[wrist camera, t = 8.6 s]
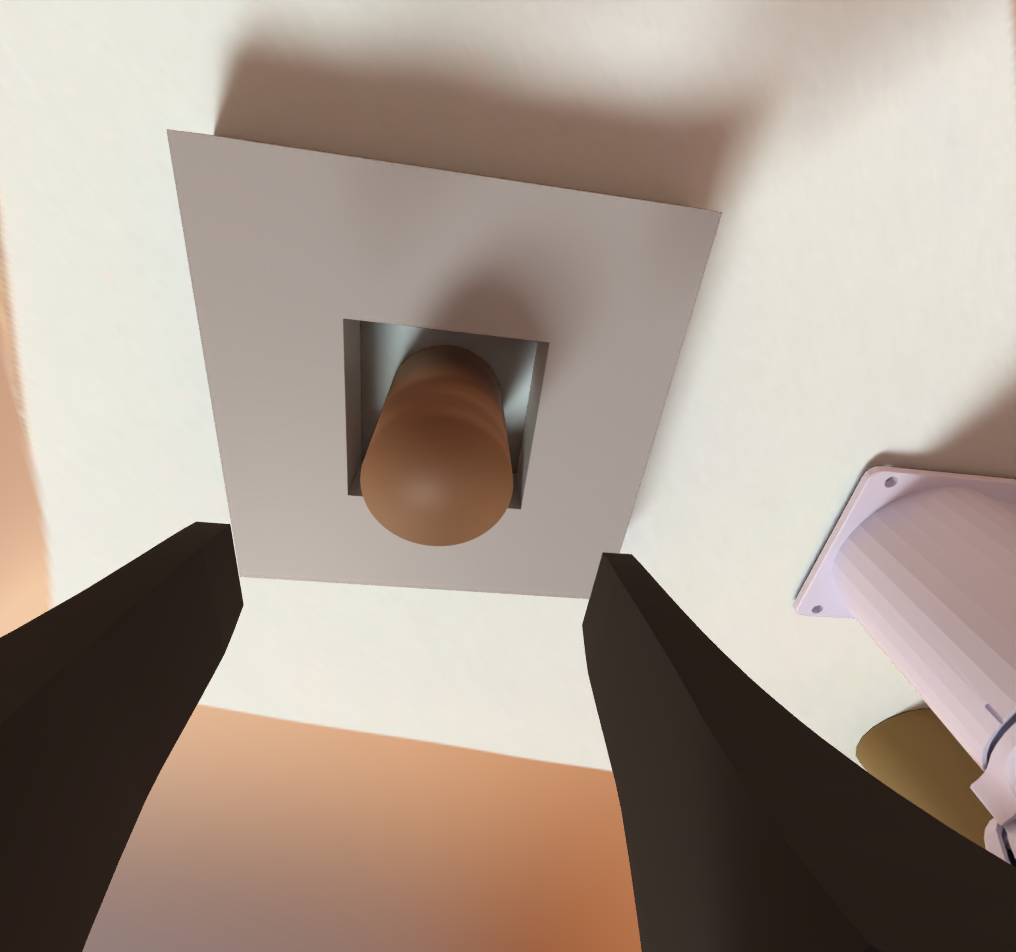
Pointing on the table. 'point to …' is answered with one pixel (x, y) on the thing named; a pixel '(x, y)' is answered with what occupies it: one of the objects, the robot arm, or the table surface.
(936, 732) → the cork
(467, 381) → the wooden peg
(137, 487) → the table surface
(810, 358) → the table surface
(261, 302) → the socket block
